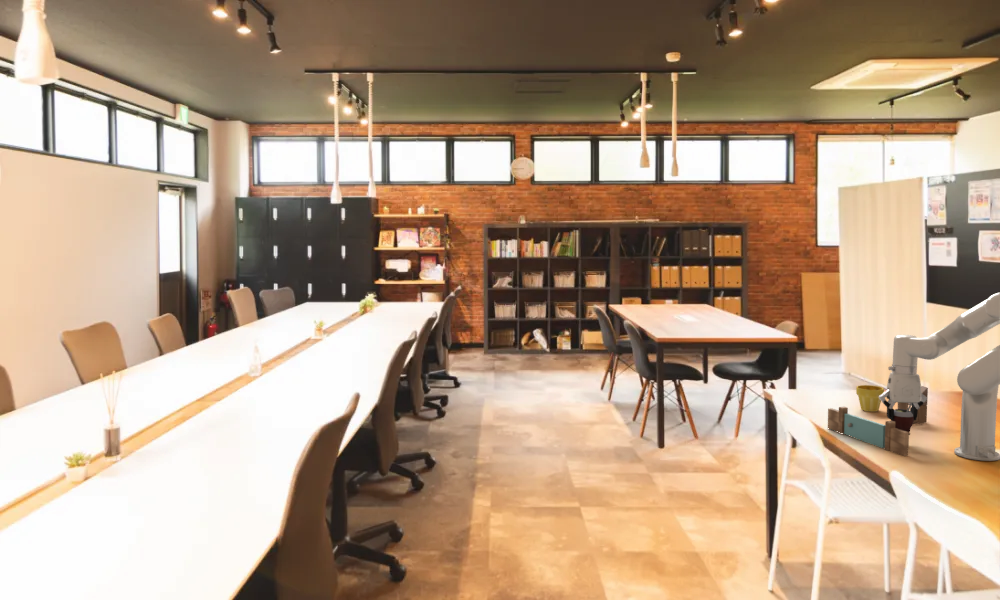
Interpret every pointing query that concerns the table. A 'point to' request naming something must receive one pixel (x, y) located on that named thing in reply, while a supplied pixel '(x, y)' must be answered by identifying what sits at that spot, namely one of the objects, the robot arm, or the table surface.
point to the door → (865, 430)
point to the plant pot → (869, 397)
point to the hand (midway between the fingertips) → (901, 418)
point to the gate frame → (893, 436)
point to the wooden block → (922, 410)
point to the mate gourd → (903, 419)
